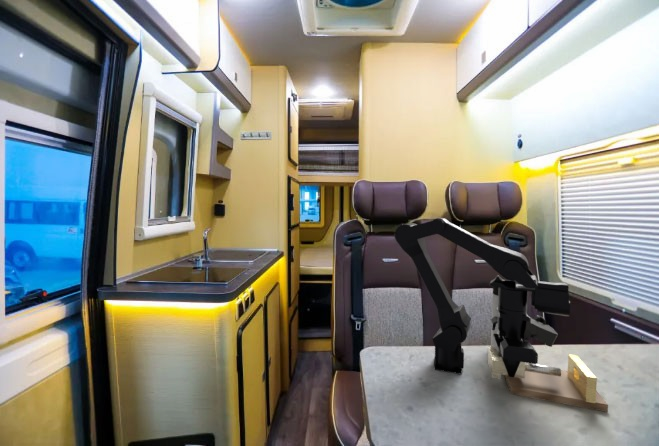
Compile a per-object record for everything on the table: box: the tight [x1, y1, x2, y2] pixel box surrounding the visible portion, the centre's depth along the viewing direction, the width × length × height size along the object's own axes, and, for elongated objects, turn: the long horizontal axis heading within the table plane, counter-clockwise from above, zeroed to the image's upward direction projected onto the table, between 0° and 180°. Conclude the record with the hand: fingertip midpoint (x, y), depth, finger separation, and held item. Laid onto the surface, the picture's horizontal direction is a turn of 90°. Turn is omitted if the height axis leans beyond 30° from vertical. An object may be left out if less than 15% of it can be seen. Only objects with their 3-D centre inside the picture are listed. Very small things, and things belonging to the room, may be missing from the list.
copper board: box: [504, 369, 609, 413], centre depth 70 cm, size 17×12×2 cm
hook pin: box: [487, 346, 562, 379], centre depth 70 cm, size 14×7×4 cm, turn 70°
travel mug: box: [490, 282, 520, 352], centre depth 85 cm, size 6×7×20 cm
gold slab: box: [567, 354, 598, 403], centre depth 66 cm, size 2×10×5 cm, turn 160°
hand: (509, 372), depth 71 cm, fingers closed on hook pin, 3 cm apart
